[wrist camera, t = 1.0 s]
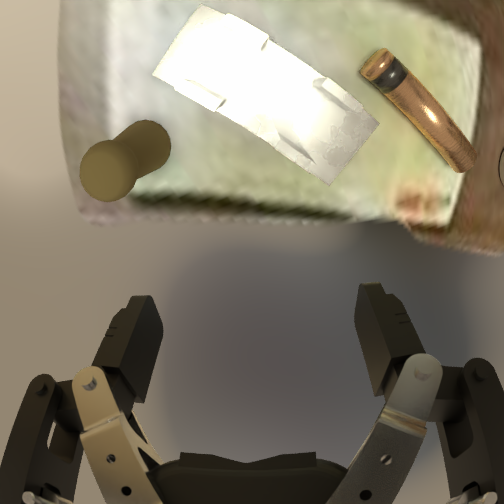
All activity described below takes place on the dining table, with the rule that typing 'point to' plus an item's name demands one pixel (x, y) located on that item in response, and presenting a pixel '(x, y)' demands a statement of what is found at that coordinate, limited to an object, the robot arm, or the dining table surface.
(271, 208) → the dining table surface
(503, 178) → the travel mug
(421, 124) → the tube
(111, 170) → the cork
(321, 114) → the grey rack
